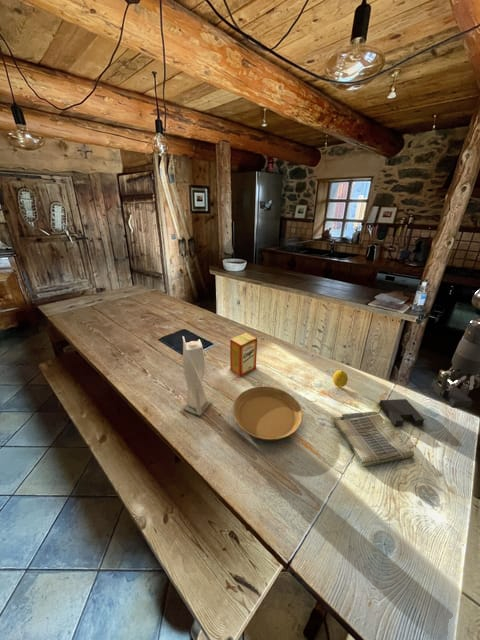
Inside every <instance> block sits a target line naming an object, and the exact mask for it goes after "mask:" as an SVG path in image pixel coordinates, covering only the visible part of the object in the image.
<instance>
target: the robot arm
mask: <svg viewBox="0 0 480 640" xmlns="http://www.w3.org/2000/svg"><path fill="white" fill-rule="evenodd" d="M471 304H472V306H473V307H475V308H476V309H478V310H479V311H480V288H479V289H478V290H477V291H476V292H475V293H473V296H472V299H471ZM451 365H452V366H451V367H450V368H449V369H448V370H444V369H440V370H439V371H438V375H437V379H436V380H437V383H436V384H437V385H438V386H439V387H440V388H441V390H440V392H439V395H438V396H439V398H441V400H443V399H446V398H447V396H448V394H449V392H450V390H451V389H452V388H453V387H454V386H456V387H457V386H458V385H459V384H461V383H462V384H463V385H461V386H460V388H459V390H461V391H462V392H463V393H464V394H465V395H467V396H468V395H469V394H470V392H471V391H472V390H473V389H475V388H476V389H478V388H480V318H473V319H472V320H471V321H470V322H468V324H467V325H466V329H465V331H464V333H463V336H462V338H461V339H460V341H459V342H458V344H457V347H456V349H455V352H454V353H453V356H452V359H451ZM441 382H442V383H441ZM448 383H449V384H450V385H449V386H447V384H448ZM468 397H469V396H468Z"/></svg>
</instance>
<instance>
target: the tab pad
mask: <svg viewBox="0 0 480 640" xmlns="http://www.w3.org/2000/svg"><path fill="white" fill-rule="evenodd" d="M436 383H437V379H433V380H432V383H431V387H432V388H433V391H434V392H435V393H436V394H437V395H438V396H439V392H440V390H441V388H440V387H439V386H438V385H437V384H436ZM441 383H442V382H441ZM449 385H450V383H448V384H447V386H449ZM442 400H443V401H444V402H445V403H446V404H447V405H449V407H450V408H453V409H459V408H471V406H472V405H473V403H474V400H472V398H470V397H469V396H467V395H465V394H464V393H463V392H462V391H461V390H460V388H459V387H457V386H454V387H453V388H452V389H451V390H450V392H449V394H448V396H447V398H446V399H442Z"/></svg>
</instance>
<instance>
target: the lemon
mask: <svg viewBox="0 0 480 640" xmlns="http://www.w3.org/2000/svg"><path fill="white" fill-rule="evenodd" d="M348 377H349V376H348V374H347V372H346V371H344V370H342V369H340V370H336V371H335V373H334V374H333V376H332V382H333V384H334V385H335V386H336V387H338V388H343V387H345V386H346V385H347V384H348V380H349V378H348Z"/></svg>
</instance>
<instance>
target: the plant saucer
mask: <svg viewBox="0 0 480 640" xmlns="http://www.w3.org/2000/svg"><path fill="white" fill-rule="evenodd" d="M232 417H233V419H234V421H235V423H236V424H237V426H238V427H239V428H240V429H241V430H242V431H243V432H244V433H246V434H247V435H248V436H250V437H252V438H255V439H258V440H263V441H279V440H282V439H285V438H287V437H289V436H291V435H293V434H294V433H295V432H296V431H297V430H298V429H299V427H300V426H301V424H302V422H303V411H302V408H301V405H300V402H298V400H297V399H296V398H295V397H294V396H293V395H292V394H290V393H289V392H287V391H284V390H283V389H280V388H277V387H272V386H267V385H265V386H264V385H263V386H255V387H251V388H248V389H246V390H244V391H242V392H241V393H240V394H239V395H238V396H236V398H235V400H234V402H233V405H232Z"/></svg>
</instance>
